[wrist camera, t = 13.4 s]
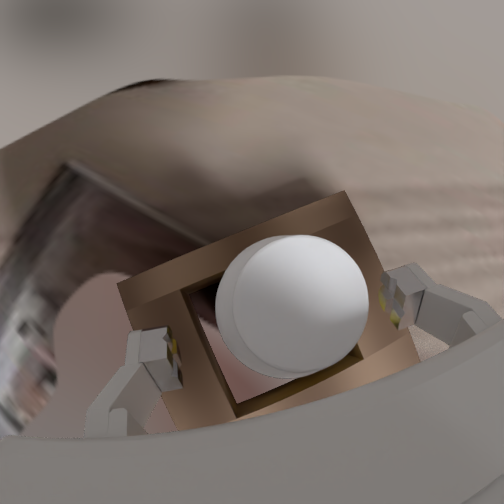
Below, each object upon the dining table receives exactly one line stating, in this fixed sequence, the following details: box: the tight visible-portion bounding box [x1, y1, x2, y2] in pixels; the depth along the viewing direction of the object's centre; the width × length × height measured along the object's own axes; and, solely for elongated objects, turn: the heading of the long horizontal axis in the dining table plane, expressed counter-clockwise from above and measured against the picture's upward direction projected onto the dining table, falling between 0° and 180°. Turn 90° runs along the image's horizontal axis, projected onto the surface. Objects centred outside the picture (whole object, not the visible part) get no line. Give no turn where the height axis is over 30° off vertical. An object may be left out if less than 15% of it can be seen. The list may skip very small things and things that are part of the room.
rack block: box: [117, 190, 420, 431], centre depth 16 cm, size 13×17×3 cm
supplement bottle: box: [215, 235, 369, 379], centre depth 13 cm, size 5×5×10 cm
